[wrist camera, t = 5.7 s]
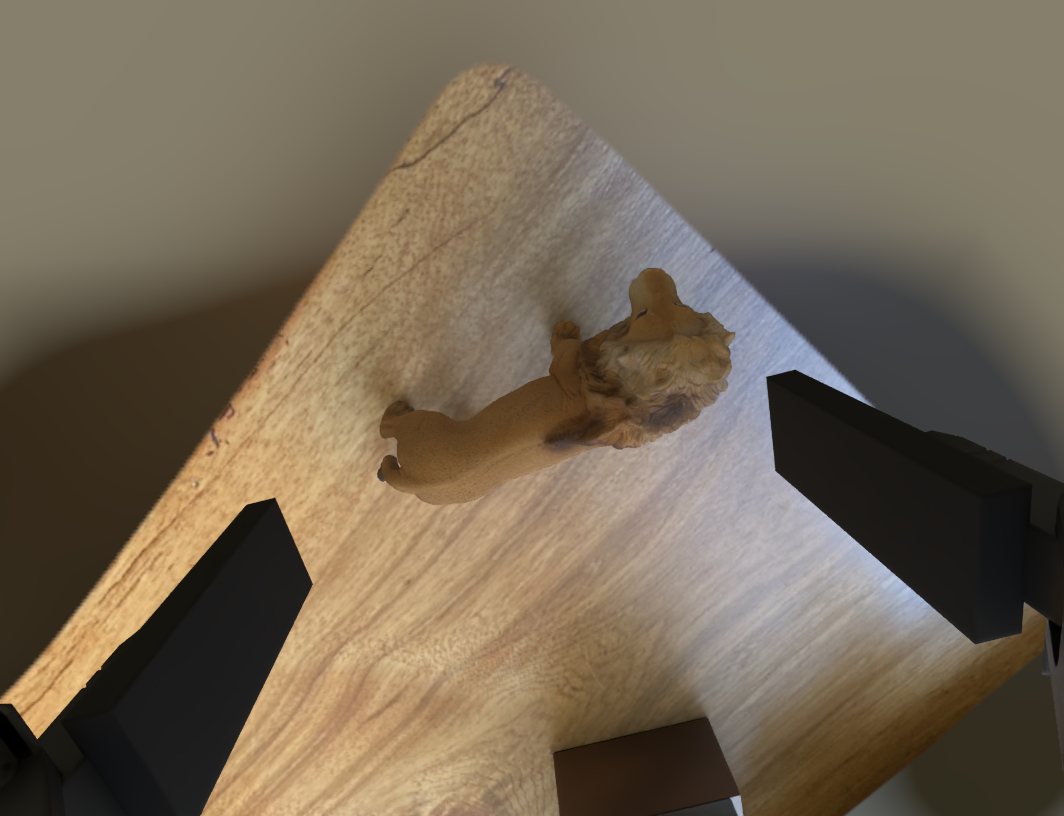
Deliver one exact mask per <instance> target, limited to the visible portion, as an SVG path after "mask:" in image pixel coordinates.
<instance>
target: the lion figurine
mask: <svg viewBox="0 0 1064 816" xmlns="http://www.w3.org/2000/svg"><path fill="white" fill-rule="evenodd" d="M629 298H630V302H631V307H632V312H631V316H630V317H627V318H626V319H625V320H624V321H621V322H619V323H617V324H615V325H614V326H612V327H611V328H610V329H609V330H605V331H603V332H601V333H599V334H597V335H596V336H594V337H593V338H590V339H589V340H586V341H584V342H581V336H580V328H579V327H578V326H576V325H574V324H573V323H572V322H564V321H560V322H559V323H558V324H557V325H556V327H555V329H554V331H553V334H552V337H551V340H550V344H551V353H552V355H553V356H554V357H553V361H552V364H551V366H550V368H549V372H550V375H549V376H546V377H542V378H539V379H537V380H534V381H531V382H529V383H527V384H525V385H524V386H522V387H520V388H518V389H516V390H515V391H513V392H510V393H508V394H506V395H505V396H503V397H501V398H499V399H498V400H496V401H494V402H492V403H491V404H490V405H488V406H487V407H485V408H484V409H483V410H482V411H481V412H480V413H478V414H477V415H476V416H474V417H473V418H471V419H469V420H467V421H456V420H453V419H451V418H449V417H448V416H446V415H444V414H442V413H439V412H434V411H426V410H419V411H414V409H413V408H412V407H410V406H409V405H408V404H407V403H403V402H395V403H393V404H392V405H390V406H389V407H388V408H387V409H386V411H385V413H384V415H383V417H382V421H381V424H380V434H381V436H382V438H384V439H388V438H396V439H397V441H398V444H397V457H398V461H399V463H400V465H401V468H400V467H399V465H398V461H397V458H396V457H395V456H392V455H387V456H385V457H384V459H383V462H382V463H381V467H380V469H379V470H378V473H377V477H378V478H379V479H380V481H382V482H384V481H386V482H387V483H388V484H389V485H390V486H392V487H393V488H394V489H396V490H398V491H400V492H404V493H409V494H414V495H416V496H417V497H418V498H419V499H420V500H422V501H424V502H426V503H429V504H432V505H450V504H459V503H466V502H469V501H472V500H475V499H477V498H479V497H481V496H483V495H484V494H486V493H487V492H489V491H490V490H492V489H494V488H495V487H497V486H499V485H501V484H503V483H505V482H507V481H510V480H512V479H515V478H518V477H520V476H523V475H526V474H529V473H531V472H534V471H537V470H540V469H543V468H546V467H549V466H551V465H553V464H556V463H558V462H560V461H562V460H564V459H567V458H569V457H572V456H574V455H577V454H579V453H582V452H584V451H586V450H588V449H591V448H595V447H602V446H611V445H612V446H613V447H614V448H616V449H623V448H627V447H630V448H636V447H640V446H641V445H643V444H645V443H646V442H648V441H651V442H653V441H655V440H656V438H659V437H661V436H662V435H663V434H668V433H671V432H673V431H675V430H677V429H678V428H679V427H680V426H682V425H684V424H688V423H690V422H692V420H694V419H696V418H697V417H698V416H699V414H700V412H701V410H702V409H703V408H704V407H707V406H710V405H712V404H713V403H715V401H716V399H717V398H718V396H719V393H720V392H724V391H726V389H727V388H728V383H727V381H726V378H727V376H728V375H729V374H730V372H731V368H732V366H731V360H730V349H729V348H728V346H729V345H730V343H731V342H732V341H733V340H734V337H735V332H729V331H727V330H726V329H724V326H723V325H722V324H720V323H719V322H718V321H717V320H716V319H715V318H714V317H713V316H712V315H711V314H710V313H709V312H707V313H704V314H702V313H697V312H694V311H693V309H692V308H690V307H689V306H687V305H684V304H682V302H681V301H680V300H679V298H678V296H677V291H676V286H675V283H674V281H673V279H672V278H671V276H669V275H668V274H666V273H665V272H664V271H663V270H662V269H659V268H648V269H645V270H643V271H642V272H641V273H640V274H639V275H638V277H637V278H635V279H634V280H633V281H632V282H631V284H630V287H629Z"/></svg>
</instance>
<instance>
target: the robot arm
mask: <svg viewBox="0 0 1064 816" xmlns="http://www.w3.org/2000/svg"><path fill="white" fill-rule="evenodd" d="M766 378H767V389H768V399H769V409H770V420H771V430H772V440H773V450H774V461H775V471H776V472H777V473H779V474H780V475H781V476H782V477H783V478H784V479H785V480H787V481H788V482H789V483H790V484H791V485H792V486H794V487H795V488H796V489H797V490H798V491H799V492H800V493H802V494H803V495H804V496H805V497H806V498H807V499H809V500H810V501H811V502H812V503H813V504H814V505H815V506H817V507H818V508H819V509H820V510H821V511H822V512H824V513H825V514H826V515H827V516H828V517H829V518H830V519H832V520H833V521H834V522H835V523H836V524H837V525H838V526H840V527H841V528H842V529H843V530H844V531H845V532H847V533H848V534H849V535H850V536H851V537H852V538H853V539H855V540H856V541H857V542H858V543H859V544H860V545H862V546H863V547H864V548H865V549H866V550H867V551H868V552H870V553H871V554H872V555H873V556H874V557H875V558H877V559H878V560H879V561H880V562H881V563H882V564H883V565H885V566H886V567H887V568H888V569H889V570H890V571H891V572H893V573H894V574H895V575H896V576H897V577H898V578H900V579H901V580H902V581H903V582H904V583H905V584H906V585H908V586H909V587H910V588H911V589H912V590H913V591H915V592H916V593H917V594H918V595H919V596H920V597H921V598H923V599H924V600H925V601H926V602H927V603H928V604H930V605H931V606H932V607H933V608H934V609H935V610H936V611H938V612H939V613H940V614H941V615H942V616H943V617H944V618H946V619H947V620H948V621H949V622H950V623H951V624H953V625H954V626H955V627H956V628H957V629H958V630H959V631H961V632H962V633H963V634H964V635H965V636H966V637H968V638H969V639H970V640H971V641H972V642H973V643H974V644H978V643H982V642H987V641H991V640H995V639H999V638H1003V637H1007V636H1011V635H1015V634H1019V633H1021V632H1022V618H1023V605H1024V602H1025V603H1027V604H1028V605H1030V606H1031V607H1032V608H1034V609H1035V610H1037V611H1038V612H1039V613H1041V614H1042V615H1044V616H1045V617H1046V618H1047V624H1046V635H1045V646H1044V657H1043V667H1042V674H1044V675H1048V676H1051V683H1052V690H1053V697H1054V705H1055V713H1056V721H1057V728H1058V735H1059V743H1060V750H1061V757H1062V766H1063V773H1064V483H1062V482H1059V481H1057V480H1055V479H1053V478H1051V477H1048V476H1046V475H1044V474H1042V473H1040V472H1037V471H1035V470H1033V469H1031V468H1028V467H1026V466H1024V465H1022V464H1019V463H1018V462H1015V461H1013V460H1011V459H1009V460H1006V458H1005V457H1004V456H1002V455H1000V454H998V453H996V452H993V451H991V450H989V451H987V450H986V448H985V447H982V446H980V445H978V444H976V443H974V442H971V441H969V440H967V439H965V438H963V437H959V436H954V435H949V434H945V433H941V432H936V431H929V432H923V431H921V430H919V429H917V428H915V427H912V426H911V425H909V424H906V423H904V422H902V421H900V420H898V419H896V418H894V417H892V416H890V415H888V414H886V413H884V412H882V411H879V410H877V409H875V408H873V407H871V406H869V405H867V404H865V403H863V402H861V401H859V400H857V399H855V398H853V397H850V396H848V395H846V394H844V393H842V392H840V391H838V390H836V389H834V388H832V387H830V386H828V385H826V384H824V383H821V382H819V381H817V380H815V379H813V378H811V377H809V376H807V375H805V374H803V373H801V372H799V371H797V370H792V371H788V372H784V373H780V374H776V375H772V376H768V377H766ZM312 585H313V583H312V581H311V579H310V576H309V574H308V572H307V570H306V567H305V565H304V563H303V560H302V558H301V556H300V554H299V551H298V549H297V547H296V544H295V542H294V540H293V538H292V535H291V533H290V531H289V528H288V526H287V524H286V522H285V519H284V517H283V515H282V512H281V510H280V508H279V505H278V503H277V501H276V499H275V498H272V499H268V500H264V501H260V502H256V503H252V504H248V505H246V506H245V507H244V508H243V510H242V511H241V512H240V513H239V514H238V515H237V517H236V518H235V519H234V520H233V521H232V522H231V524H230V525H229V526H228V527H227V528H226V529H225V531H224V532H223V533H222V534H221V535H220V536H219V538H218V539H217V540H216V541H215V542H214V543H213V545H212V546H211V547H210V548H209V549H208V550H207V552H206V553H205V554H204V555H203V556H202V557H201V558H200V560H199V561H198V562H197V563H196V564H195V565H194V567H193V568H192V569H191V570H190V571H189V572H188V574H187V575H186V576H185V577H184V578H183V579H182V581H181V582H180V583H179V584H178V585H177V586H176V588H175V589H174V590H173V591H172V592H171V593H170V595H169V596H168V597H167V598H166V599H165V600H164V602H163V603H162V604H161V605H160V606H159V607H158V609H157V610H156V611H155V612H154V613H153V614H152V616H151V617H150V618H149V619H148V620H147V621H146V623H145V624H144V625H143V626H142V627H141V628H140V629H139V630H138V631H137V632H136V633H134V634H133V635H132V636H131V637H129V638H128V639H127V640H126V641H124V642H123V643H122V644H121V645H119V647H118V648H117V649H116V650H115V651H114V652H113V653H112V655H111V656H110V657H109V658H108V659H107V660H106V661H105V663H104V664H103V665H102V666H101V670H98V671H97V672H96V673H95V674H94V675H93V676H92V677H91V679H90V680H89V681H88V682H87V683H86V688H82V689H81V690H80V691H79V692H78V693H77V695H76V696H75V697H74V698H73V699H72V700H71V701H70V703H69V704H68V705H67V706H66V707H65V708H64V709H63V711H62V712H61V713H60V714H59V715H58V716H57V718H56V719H55V720H54V721H53V722H52V723H51V724H50V726H49V727H48V728H47V729H46V730H45V731H44V732H43V734H42V735H41V736H40V737H39V738H38V739H37V738H36V737H35V735H34V734H33V733H32V731H31V730H30V728H29V727H28V726H27V724H26V723H25V721H24V720H23V719H22V717H21V716H20V714H19V713H18V712H17V710H16V709H15V708H14V706H13V705H12V704H0V816H200V815H201V813H202V811H203V809H204V807H205V805H206V803H207V801H208V799H209V796H210V794H211V792H212V790H213V788H214V786H215V784H216V782H217V780H218V778H219V776H220V774H221V772H222V770H223V768H224V766H225V764H226V762H227V760H228V757H229V755H230V753H231V751H232V749H233V747H234V745H235V743H236V741H237V739H238V737H239V735H240V733H241V731H242V729H243V727H244V725H245V723H246V720H247V718H248V716H249V714H250V712H251V710H252V708H253V706H254V704H255V702H256V700H257V698H258V696H259V694H260V692H261V690H262V688H263V686H264V684H265V681H266V679H267V677H268V675H269V673H270V671H271V669H272V667H273V665H274V663H275V661H276V659H277V657H278V655H279V653H280V651H281V649H282V647H283V644H284V642H285V640H286V638H287V636H288V634H289V632H290V630H291V628H292V626H293V624H294V622H295V620H296V618H297V616H298V614H299V612H300V610H301V608H302V605H303V603H304V601H305V599H306V597H307V595H308V593H309V591H310V589H311V587H312Z"/></svg>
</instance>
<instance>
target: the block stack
mask: <svg viewBox="0 0 1064 816" xmlns="http://www.w3.org/2000/svg"><path fill="white" fill-rule="evenodd" d="M553 758H554V767H555V776H556V785H557V795H558V804H559V813H560V816H744V815H743V809H742V802H741V796H740V793H739V790H738V788H737V786H736V783H735V781H734V778H733V776H732V774H731V771H730V769H729V767H728V764H727V762H726V760H725V757H724V755H723V753H722V750H721V748H720V746H719V743H718V741H717V739H716V736H715V734H714V732H713V729H712V727H711V725H710V722H709V720H708V718H703V719H699V720H695V721H690V722H686V723H682V724H678V725H673V726H669V727H665V728H660V729H656V730H652V731H648V732H643V733H639V734H635V735H630V736H626V737H622V738H617V739H613V740H609V741H605V742H600V743H596V744H592V745H587V746H583V747H579V748H574V749H570V750H566V751H562V752H557V753H554V754H553Z"/></svg>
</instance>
